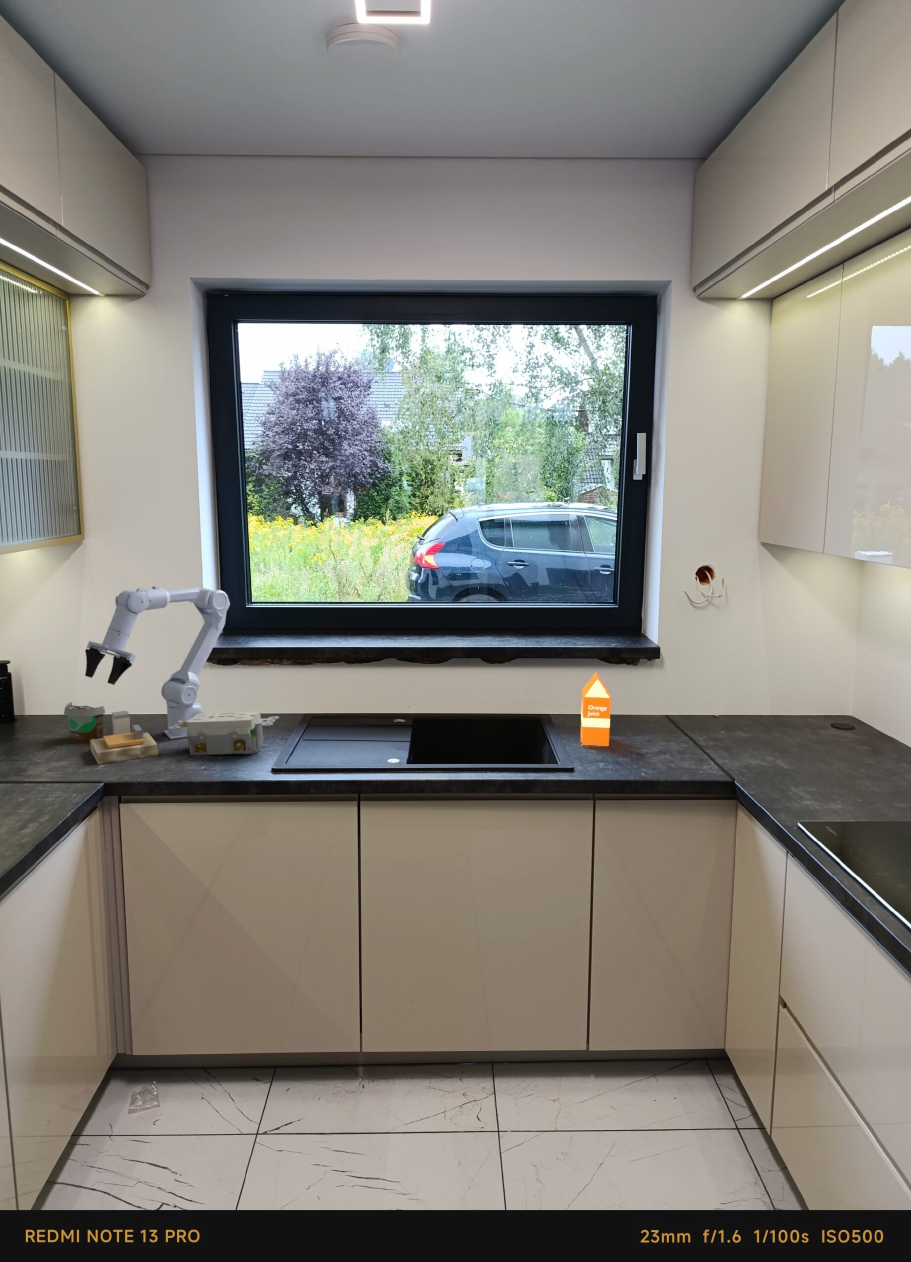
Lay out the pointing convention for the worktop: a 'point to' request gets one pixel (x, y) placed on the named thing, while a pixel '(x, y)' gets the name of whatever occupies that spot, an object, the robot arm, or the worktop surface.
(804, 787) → the worktop surface
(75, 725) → the food container
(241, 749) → the electrical outlet
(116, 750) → the socket block
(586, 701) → the orange juice
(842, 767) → the worktop surface
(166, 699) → the robot arm
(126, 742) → the shutter
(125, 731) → the grey upright block
